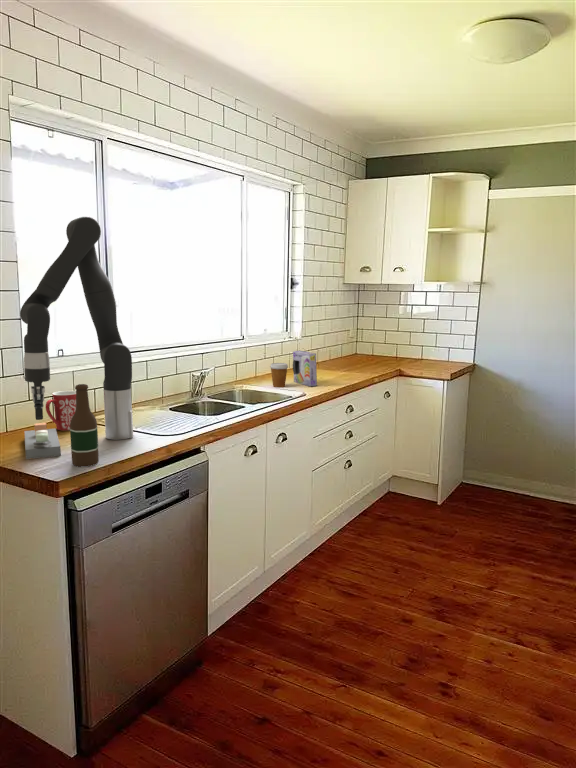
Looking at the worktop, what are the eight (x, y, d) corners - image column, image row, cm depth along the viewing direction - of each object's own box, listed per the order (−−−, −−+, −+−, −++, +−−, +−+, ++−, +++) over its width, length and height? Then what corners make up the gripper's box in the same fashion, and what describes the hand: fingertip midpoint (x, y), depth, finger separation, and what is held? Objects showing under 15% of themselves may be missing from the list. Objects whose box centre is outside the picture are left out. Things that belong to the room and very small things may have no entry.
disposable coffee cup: (281, 388, 305) (281, 365, 303) (266, 386, 310) (266, 364, 308) (291, 386, 313) (291, 363, 311) (276, 384, 318) (276, 362, 316)
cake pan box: (291, 381, 327) (292, 350, 324) (299, 381, 329) (300, 349, 326) (309, 387, 310) (309, 353, 307) (317, 386, 313) (317, 353, 310)
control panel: (56, 436, 208) (55, 428, 207) (61, 456, 185) (60, 446, 184) (25, 439, 203) (24, 430, 203) (26, 459, 180) (25, 450, 180)
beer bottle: (82, 458, 182) (78, 382, 178) (104, 460, 180) (100, 383, 176) (66, 465, 175) (61, 386, 171) (88, 468, 173) (84, 387, 169)
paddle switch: (46, 432, 199) (46, 422, 199) (47, 434, 197) (46, 424, 196) (35, 433, 198) (34, 423, 197) (35, 435, 195) (34, 425, 195)
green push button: (48, 438, 186) (48, 432, 186) (48, 441, 183) (48, 435, 183) (36, 440, 185) (35, 433, 185) (36, 442, 182) (35, 436, 181)
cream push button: (47, 435, 190) (47, 429, 190) (48, 438, 187) (47, 432, 187) (35, 436, 189) (35, 430, 189) (36, 439, 186) (35, 433, 185)
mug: (70, 424, 226) (68, 389, 223) (85, 427, 221) (83, 392, 218) (40, 430, 215) (37, 394, 213) (55, 434, 210) (52, 397, 208)
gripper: (50, 368, 184) (52, 422, 186) (48, 363, 195) (50, 414, 198) (24, 369, 181) (26, 424, 183) (24, 363, 192) (26, 415, 195)
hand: (39, 419), depth 191 cm, fingers closed
